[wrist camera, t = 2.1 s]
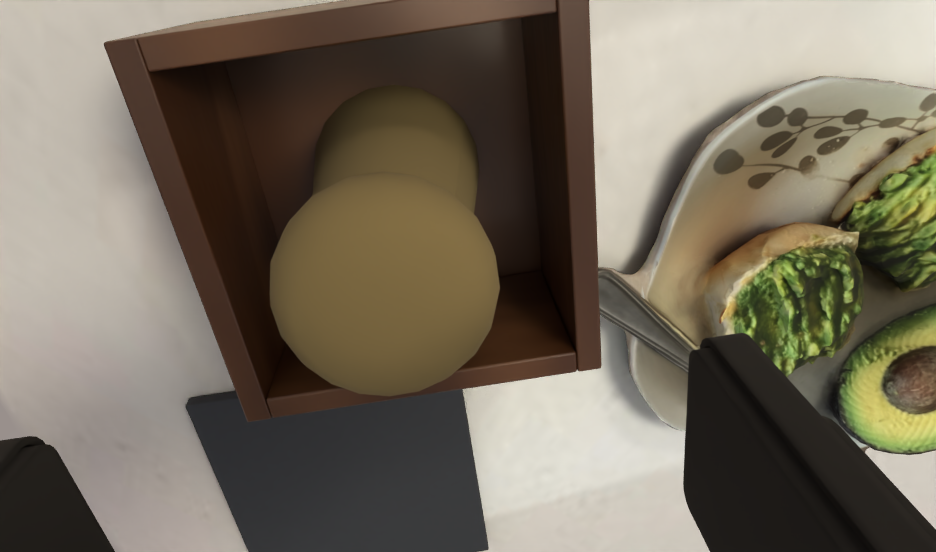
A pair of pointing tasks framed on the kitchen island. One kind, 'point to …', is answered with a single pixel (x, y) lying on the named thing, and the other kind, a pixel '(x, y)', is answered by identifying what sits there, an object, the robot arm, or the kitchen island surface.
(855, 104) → the avocado toast plate
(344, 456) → the mat
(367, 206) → the cork
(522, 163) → the bin
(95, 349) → the kitchen island surface
